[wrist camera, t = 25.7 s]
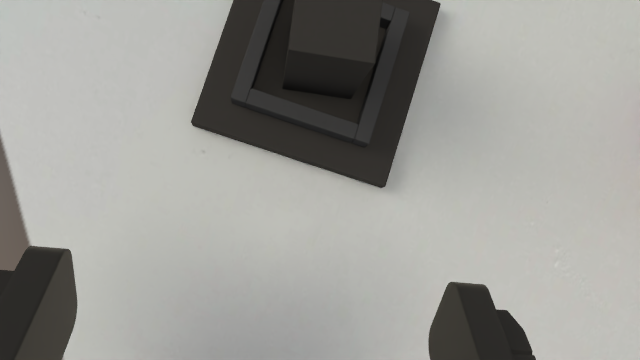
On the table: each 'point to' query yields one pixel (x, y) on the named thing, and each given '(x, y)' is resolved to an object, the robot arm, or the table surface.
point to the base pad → (308, 108)
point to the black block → (331, 46)
